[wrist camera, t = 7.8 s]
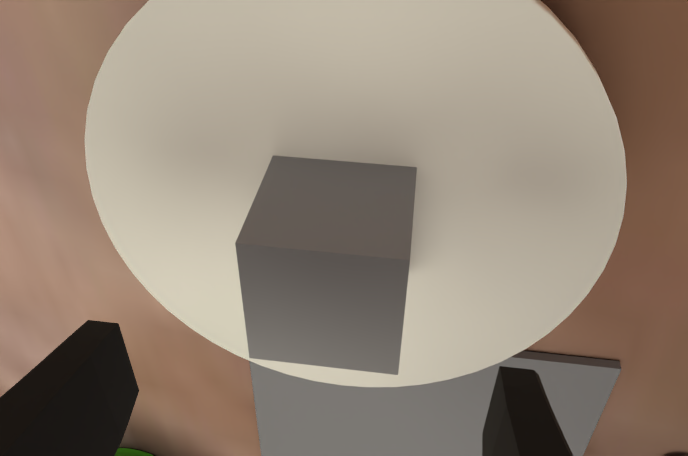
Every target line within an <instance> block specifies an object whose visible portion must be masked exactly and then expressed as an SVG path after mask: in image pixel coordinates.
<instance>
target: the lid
mask: <svg viewBox="0 0 688 456" xmlns="http://www.w3.org/2000/svg"><path fill="white" fill-rule="evenodd" d="M85 153H86V168H87V173H88V178H89V182H90V187H91V192H92V196H93V199H94V202H95V204H96V207H97V210H98V213H99V215H100V218H101V221H102V223H103V225H104V227H105V229H106V231H107V233H108V235H109V237H110V239H111V241H112V243H113V245H114V247H115V248H116V250H117V251H118V253H119V254H120V256H121V257H122V259H123V260H124V262H125V263H126V265H127V266H128V268H129V269H130V270H131V272H132V273H133V274H134V275H135V276H136V278H137V279H138V280H139V281H140V282H141V283H142V285H143V286H144V287H145V288H146V289H147V291H148V292H149V293H150V294H151V295H153V296H154V297H155V298H156V299H157V300H158V301H159V302H160V303H161V304H162V305H163V306H164V307H165V308H166V309H167V310H168V311H169V312H171V313H172V314H173V315H174V316H176V317H177V318H178V319H180V320H181V321H182V322H183V323H185V324H186V325H187V326H188V327H190V328H191V329H193V330H194V331H196V332H197V333H199V334H200V335H202V336H204V337H205V338H207V339H208V340H210V341H211V342H213V343H215V344H217V345H218V346H220V347H222V348H224V349H226V350H228V351H230V352H232V353H233V354H235V355H237V356H240V357H242V358H244V359H247V360H249V361H251V362H254V363H256V364H258V365H261V366H263V367H266V368H269V369H272V370H275V371H278V372H281V373H284V374H287V375H291V376H296V377H300V378H304V379H308V380H312V381H317V382H323V383H330V384H336V385H344V386H357V387H401V386H412V385H422V384H428V383H433V382H439V381H444V380H449V379H453V378H456V377H460V376H463V375H467V374H470V373H474V372H477V371H479V370H482V369H484V368H487V367H489V366H492V365H495V364H497V363H500V362H502V361H504V360H506V359H508V358H509V357H511V356H513V355H515V354H517V353H519V352H521V351H523V350H525V349H526V348H528V347H529V346H531V345H532V344H534V343H535V342H537V341H538V340H540V339H541V338H543V337H544V336H546V335H547V334H548V333H550V332H551V331H552V330H553V329H554V328H555V327H556V326H558V325H559V324H560V323H561V322H562V321H563V320H565V319H566V318H567V317H568V316H569V315H570V314H571V313H572V312H573V311H574V309H575V308H576V307H577V306H578V305H579V304H580V303H581V301H582V300H583V299H584V298H585V297H586V296H587V295H588V293H589V292H590V290H591V289H592V287H593V286H594V284H595V283H596V281H597V280H598V278H599V277H600V275H601V273H602V272H603V270H604V268H605V266H606V264H607V262H608V260H609V257H610V255H611V253H612V251H613V249H614V247H615V244H616V241H617V237H618V234H619V230H620V227H621V223H622V219H623V216H624V208H625V198H626V189H627V177H626V162H625V150H624V146H623V142H622V138H621V133H620V129H619V125H618V121H617V117H616V115H615V113H614V110H613V108H612V106H611V103H610V101H609V99H608V96H607V94H606V92H605V89H604V87H603V85H602V82H601V80H600V78H599V76H598V74H597V71H596V69H595V68H594V66H593V64H592V63H591V61H590V60H589V58H588V57H587V55H586V53H585V52H584V50H583V49H582V47H581V46H580V44H579V42H578V41H577V39H576V38H575V37H574V35H573V34H572V33H571V32H570V31H569V30H568V29H567V27H566V26H565V25H564V24H563V23H562V22H561V21H560V20H559V18H558V17H557V16H556V15H555V14H554V13H553V12H552V11H551V9H550V8H549V7H548V6H546V5H545V4H544V3H543V2H542V1H540V0H149V1H148V2H147V3H146V4H145V5H144V6H143V7H142V8H141V9H140V10H139V11H138V12H137V13H136V14H135V15H134V16H133V17H132V19H131V20H130V21H129V22H128V23H127V24H126V25H125V27H124V28H123V30H122V31H121V33H120V34H119V36H118V37H117V39H116V40H115V42H114V43H113V45H112V46H111V48H110V49H109V51H108V52H107V55H106V57H105V59H104V61H103V64H102V66H101V68H100V70H99V72H98V75H97V77H96V79H95V82H94V86H93V90H92V94H91V98H90V101H89V105H88V109H87V118H86V130H85Z"/></svg>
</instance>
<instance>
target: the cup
mask: <svg viewBox="0 0 688 456" xmlns="http://www.w3.org/2000/svg"><path fill="white" fill-rule="evenodd" d="M115 456H154V455H151V454H149V453H146V452H143V451H140V450H134V449H129V448H118V450H117V452H116V454H115Z"/></svg>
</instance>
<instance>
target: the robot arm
mask: <svg viewBox="0 0 688 456" xmlns="http://www.w3.org/2000/svg"><path fill="white" fill-rule="evenodd" d="M138 392H139V389H138V386H137V383H136V379H135V376H134V373H133V370H132V366H131V363H130V360H129V357H128V353H127V350H126V347H125V344H124V340H123V337H122V334H121V331H120V327H119V324H118V323H109V322H100V321H91V320H88V321H87V322H86V323H84V324H83V325H82V326H81V327H80V328H79V329H77V330H76V331H75V332H74V333H73V334H72V335H71V336H69V337H68V338H67V339H66V340H65V341H64V342H63V343H62V344H60V345H59V346H58V347H57V348H56V349H55V350H54V351H53V352H52V353H50V354H49V355H48V356H47V357H46V358H45V359H44V360H43V361H41V362H40V363H39V364H38V365H37V366H36V367H35V368H34V369H32V370H31V371H30V372H29V373H28V374H27V375H26V376H25V377H23V378H22V379H21V380H20V381H19V382H18V383H16V384H15V385H14V386H13V387H12V388H11V389H9V390H8V391H7V392H6V393H5V394H4V395H2V396H1V397H0V456H115V454H116V452H117V450H118V447H119V445H120V443H121V441H122V438H123V436H124V433H125V430H126V427H127V425H128V422H129V419H130V416H131V413H132V410H133V407H134V404H135V401H136V398H137V395H138ZM482 456H573V454H572V452H571V450H570V448H569V445H568V443H567V441H566V439H565V437H564V435H563V432H562V430H561V428H560V426H559V424H558V421H557V419H556V417H555V414H554V412H553V410H552V407H551V405H550V403H549V400H548V398H547V395H546V393H545V390H544V388H543V385H542V382H541V379H540V377H539V375H538V373H537V372H536V371H535V370H531V369H522V368H513V367H504V366H499V370H498V374H497V378H496V382H495V385H494V389H493V393H492V397H491V401H490V405H489V409H488V413H487V417H486V420H485V424H484V428H483V432H482Z"/></svg>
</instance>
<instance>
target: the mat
mask: <svg viewBox="0 0 688 456" xmlns="http://www.w3.org/2000/svg"><path fill="white" fill-rule="evenodd" d="M249 362H250V369H251V377H252V385H253V393H254V401H255V409H256V417H257V425H258V433H259V441H260V449H261V456H482V432H483V428H484V424H485V420H486V417H487V413H488V409H489V405H490V401H491V397H492V393H493V389H494V385H495V382H496V378H497V374H498V370H499V366H504V367H513V368H522V369H531V370H535V371H536V372H537V373H538V375H539V377H540V379H541V382H542V385H543V388H544V390H545V393H546V395H547V398H548V400H549V403H550V405H551V407H552V410H553V412H554V414H555V417H556V419H557V421H558V424H559V426H560V428H561V430H562V432H563V435H564V437H565V439H566V441H567V443H568V445H569V448H570V450H571V452H572V454H573V456H583V454H584V452H585V450H586V447H587V445H588V443H589V441H590V438H591V436H592V434H593V432H594V429H595V427H596V425H597V423H598V421H599V418H600V416H601V414H602V412H603V409H604V407H605V405H606V403H607V400H608V398H609V396H610V394H611V391H612V389H613V387H614V385H615V382H616V380H617V378H618V376H619V373H620V371H621V366H620V362H619V361H613V360H604V359H594V358H585V357H576V356H567V355H557V354H548V353H539V352H530V351H521V352H519V353H517V354H515V355H513V356H511V357H509V358H508V359H506V360H504V361H502V362H500V363H497V364H495V365H492V366H489V367H487V368H484V369H482V370H479V371H477V372H474V373H470V374H467V375H463V376H460V377H456V378H453V379H449V380H444V381H439V382H433V383H428V384H422V385H412V386H401V387H357V386H344V385H336V384H330V383H323V382H317V381H312V380H308V379H304V378H300V377H296V376H291V375H287V374H284V373H281V372H278V371H275V370H272V369H269V368H266V367H263V366H261V365H258V364H256V363H254V362H251V361H249Z"/></svg>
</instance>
